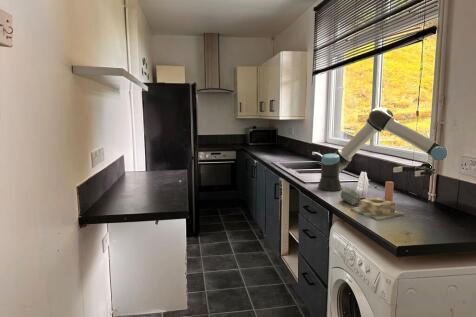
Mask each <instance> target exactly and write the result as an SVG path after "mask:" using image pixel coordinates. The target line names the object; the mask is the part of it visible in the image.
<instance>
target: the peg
mask: <svg viewBox="0 0 476 317" xmlns="http://www.w3.org/2000/svg"><path fill="white" fill-rule="evenodd" d="M394 184H395V182H393V181H385V185H384V186H385V188H384V200H387V201H391V202H394V201H393V200H394V186H395V185H394Z"/></svg>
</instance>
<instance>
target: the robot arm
mask: <svg viewBox="0 0 476 317" xmlns="http://www.w3.org/2000/svg"><path fill="white" fill-rule="evenodd" d="M368 114H369V115H368V118H367V119H366V123H365V124H364V126H362V127H361V129H360V130H358V132H357V133H355V135H354V136H353V137H352V138H351V139H350V140H349V141H348V142H347V143H345V145H344V146H343V147H342V148H338V149H337V150H336V151H335V152H334V153H326V154H325V153H324V154H322V156H321V160H320V162H321V163H320V164H321V166H320V167H321V168H320V170H321V171H320V178H319V183H318V185H317V189H319V190H321V191H324V192H338V191H342V185H341V180H340V171H342V170H345V169H346V168H347V167H348V165H349V164H350V162H351V161H352V159H353V156H354V155H356V153H357V152H359V150H361V149H362V148H363V147H364V145H366V144H367V143H368V141H370V140H371V139H372V138H373V137H374V135H375V134H376V133H381V132H382V131H383V132H386V131H387V132H389V133H390V134H392V135H394V136H396V137H398V138H399V139H401V140H402V141H404V142H406V143H408V144H410V145H411V146H413V147H415V148H417V149H419V150H420V151H422V152H423V153H426V154H427V155H429V156H430V157H431V158H432V159H433V160H434V159H435V160H443V159H444V158H446V156H447V150H446V148H444V147H442V146H440V145H438V144H436V143H435V142H436V141H433V140H431V138H428V137H427V136H425V135H423V134H422V133H419V132H418V131H416V130H414V129H412V128H410V127H408V126H407V125H405V124H403V123H401V121H398V120H396V119H395V117H394V113H393V111H391V109H389V108H387V107H377V108H373V109H372V110H371V111H370V113H368ZM430 166H431V165H430V164H429V163H428V162H423V163H421V165H398V166H396V167H395V166H394V167H393V168H392V173H402V172H413V173H414V177H422V176H423V177H424V176H429V177H432V175H433V174H435V169H432V166H431V168H430ZM435 175H436V174H435ZM433 176H434V175H433Z"/></svg>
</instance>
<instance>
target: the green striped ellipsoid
mask: <svg viewBox="0 0 476 317" xmlns="http://www.w3.org/2000/svg"><path fill="white" fill-rule="evenodd" d="M340 198H341V200H342V201H343V202H346V203H348V204H349V205H351V206H355V205H357V204H359V203H360V200H361V195H360V193H359V192H358V191H357V190H355V189H353V188H350V187H345V188H343V189H341V190H340Z"/></svg>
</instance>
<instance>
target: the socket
mask: <svg viewBox="0 0 476 317" xmlns="http://www.w3.org/2000/svg"><path fill="white" fill-rule="evenodd" d="M358 204H359V206H357V207H356V206H355V207H351V208H350V211H352V212H354V211H355V213H358V214H360V215H362V214H363V216H365V217H368V218H371V219H373V220H375V221H376V220H377V221H380V220H381V221H382V220H385V219H391V218H396V217H401V216H404V215H405V213H404V212H401V211H398V210H396V202H394V201H393V202H391V201H387V200H385V198H380V197H377V196H375V197H372V198H371V197H370V198H364V199H363V198H362V199H360V200H359V202H358Z"/></svg>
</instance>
